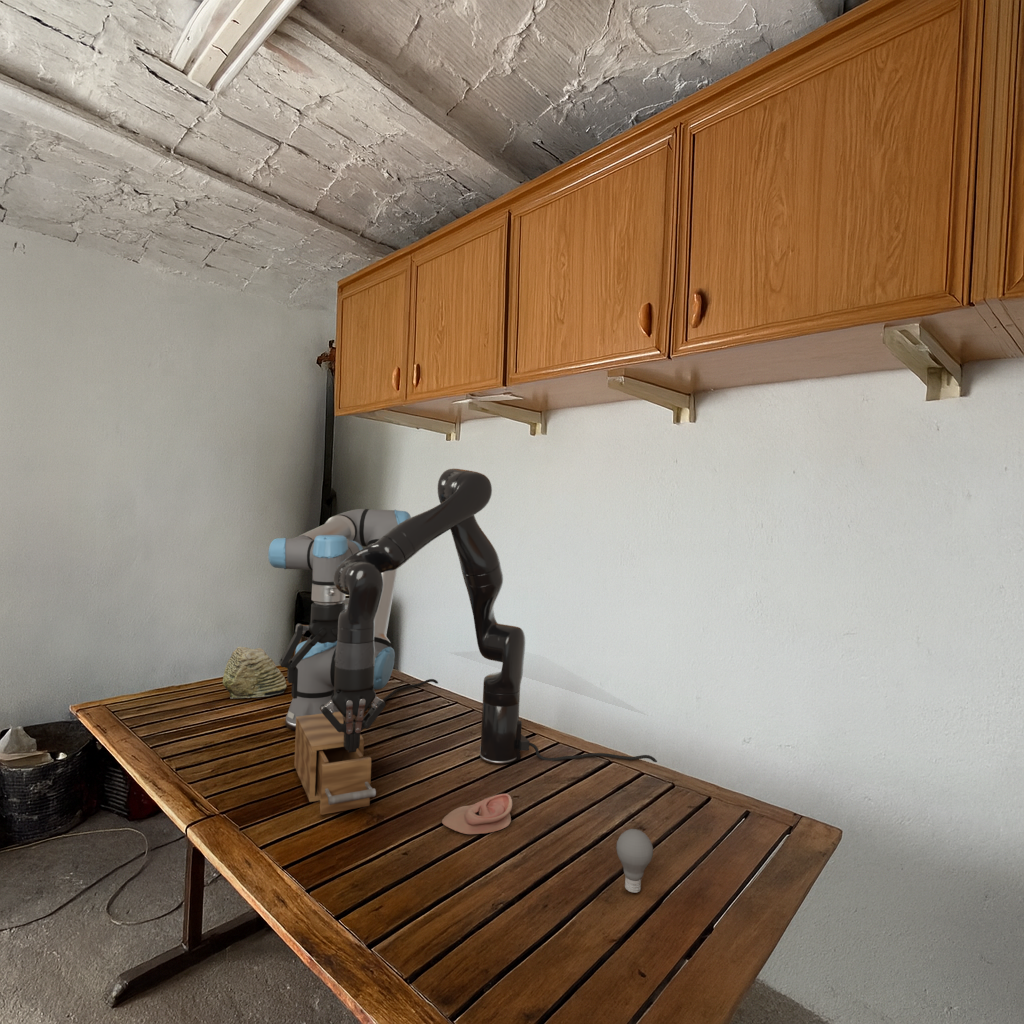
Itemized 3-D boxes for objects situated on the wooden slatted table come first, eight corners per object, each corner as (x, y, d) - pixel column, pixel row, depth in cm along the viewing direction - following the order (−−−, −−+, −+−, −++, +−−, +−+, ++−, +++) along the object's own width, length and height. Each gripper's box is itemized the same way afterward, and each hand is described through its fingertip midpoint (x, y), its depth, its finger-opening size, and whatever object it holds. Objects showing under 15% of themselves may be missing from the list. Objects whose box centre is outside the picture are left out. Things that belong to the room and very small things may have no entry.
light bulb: (610, 879, 108) (613, 822, 108) (644, 879, 109) (647, 822, 109) (619, 902, 102) (622, 840, 102) (655, 901, 103) (658, 840, 103)
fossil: (218, 695, 195) (220, 647, 195) (278, 685, 208) (279, 640, 207) (228, 703, 189) (230, 653, 188) (289, 692, 201) (290, 645, 201)
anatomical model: (437, 809, 122) (454, 783, 133) (436, 829, 122) (453, 802, 133) (504, 819, 119) (516, 792, 131) (503, 840, 119) (515, 811, 131)
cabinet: (361, 792, 136) (364, 739, 136) (309, 802, 131) (311, 746, 131) (341, 758, 153) (343, 711, 153) (294, 766, 148) (296, 716, 148)
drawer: (377, 818, 124) (379, 769, 124) (326, 828, 119) (328, 777, 119) (348, 770, 144) (350, 729, 144) (304, 778, 140) (306, 734, 140)
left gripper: (273, 607, 137) (269, 704, 137) (385, 602, 149) (382, 692, 149) (268, 601, 143) (265, 694, 144) (376, 597, 155) (373, 683, 156)
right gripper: (324, 670, 117) (320, 763, 117) (393, 664, 123) (390, 753, 124) (316, 660, 124) (312, 748, 124) (382, 655, 130) (379, 739, 130)
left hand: (324, 693), depth 146 cm, fingers open, 13 cm apart
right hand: (351, 750), depth 124 cm, fingers closed
